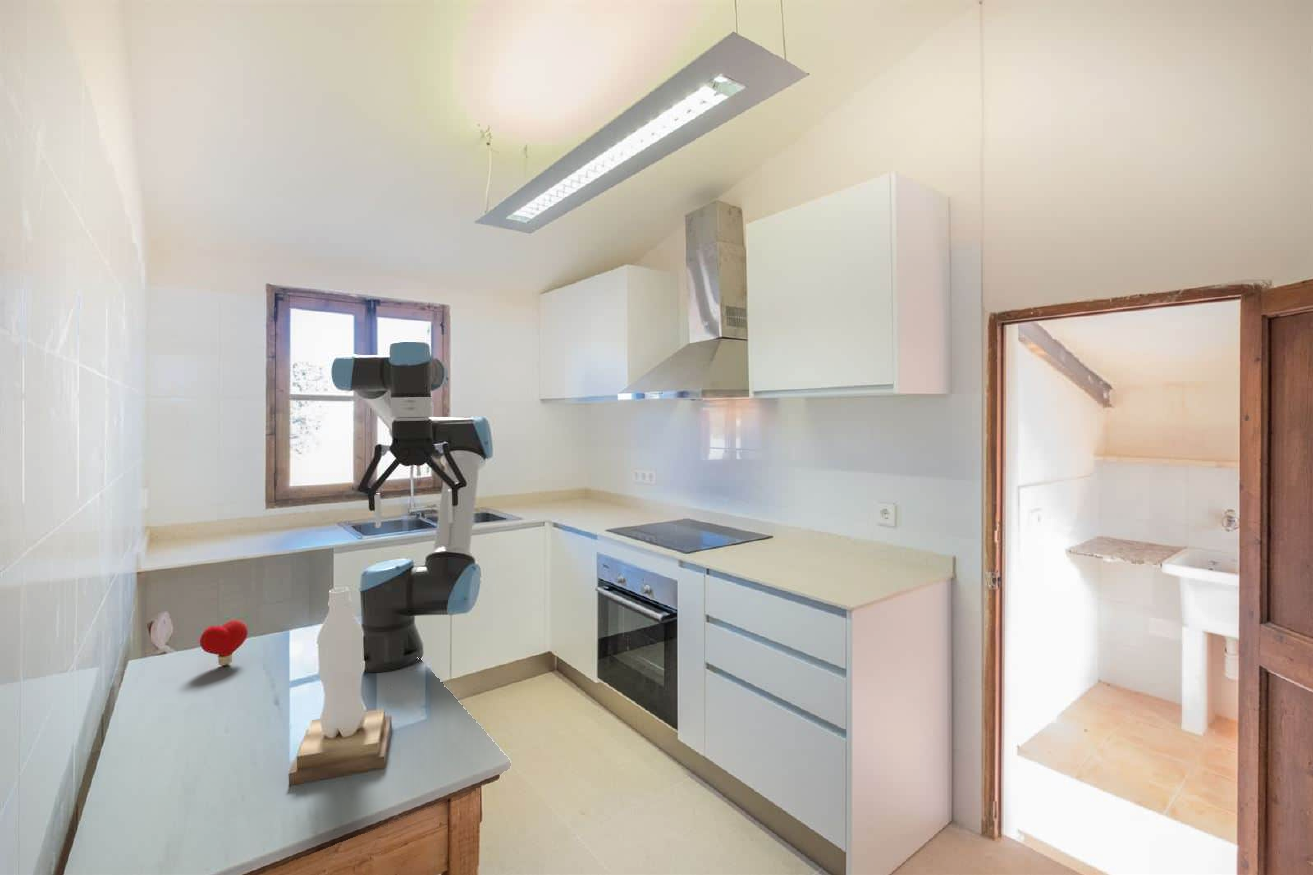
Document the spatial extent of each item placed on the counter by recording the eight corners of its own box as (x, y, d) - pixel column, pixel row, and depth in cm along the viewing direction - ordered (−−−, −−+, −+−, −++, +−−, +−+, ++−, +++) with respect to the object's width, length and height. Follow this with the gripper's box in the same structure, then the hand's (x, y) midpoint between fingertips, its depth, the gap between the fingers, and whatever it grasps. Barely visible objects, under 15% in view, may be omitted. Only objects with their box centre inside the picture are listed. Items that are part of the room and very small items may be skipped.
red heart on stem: (242, 655, 147) (240, 615, 146) (254, 662, 143) (252, 621, 142) (196, 669, 140) (194, 626, 139) (207, 677, 135) (205, 633, 135)
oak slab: (312, 730, 109) (312, 720, 109) (385, 719, 113) (384, 708, 113) (297, 768, 98) (296, 756, 98) (378, 754, 102) (377, 742, 102)
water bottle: (358, 715, 110) (354, 581, 109) (373, 730, 105) (368, 589, 104) (315, 731, 105) (309, 590, 104) (328, 747, 100) (322, 599, 99)
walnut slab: (307, 739, 110) (307, 729, 110) (391, 725, 114) (391, 715, 114) (288, 785, 97) (288, 773, 96) (384, 767, 101) (384, 756, 101)
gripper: (339, 420, 113) (343, 532, 115) (477, 418, 121) (480, 523, 123) (345, 419, 120) (349, 524, 122) (476, 417, 128) (478, 516, 130)
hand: (415, 524), depth 122 cm, fingers open, 13 cm apart
